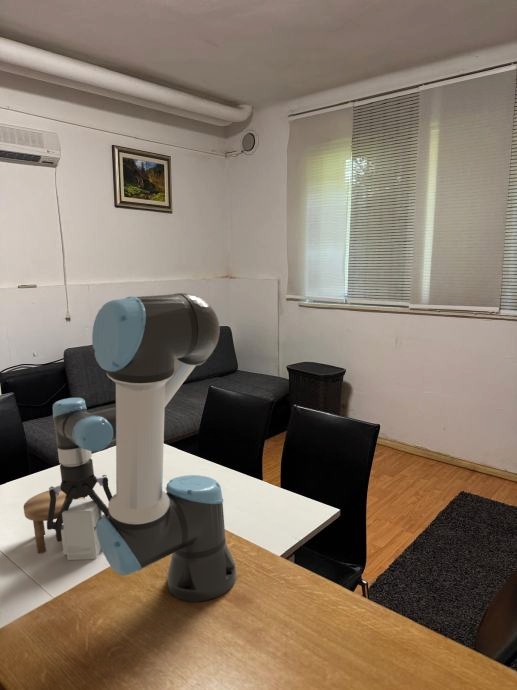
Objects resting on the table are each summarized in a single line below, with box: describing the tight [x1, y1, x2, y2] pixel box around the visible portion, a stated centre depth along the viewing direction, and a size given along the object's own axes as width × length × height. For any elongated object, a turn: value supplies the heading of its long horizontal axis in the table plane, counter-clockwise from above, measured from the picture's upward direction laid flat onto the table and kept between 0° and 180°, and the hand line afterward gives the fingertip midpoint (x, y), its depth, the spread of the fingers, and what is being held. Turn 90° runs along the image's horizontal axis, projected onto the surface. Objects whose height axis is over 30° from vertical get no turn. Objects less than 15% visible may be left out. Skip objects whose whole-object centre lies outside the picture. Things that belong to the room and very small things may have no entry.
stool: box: [23, 490, 86, 555], centre depth 127 cm, size 15×15×11 cm
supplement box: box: [62, 497, 103, 561], centre depth 120 cm, size 7×7×13 cm
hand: (86, 545), depth 120 cm, fingers closed on supplement box, 9 cm apart
